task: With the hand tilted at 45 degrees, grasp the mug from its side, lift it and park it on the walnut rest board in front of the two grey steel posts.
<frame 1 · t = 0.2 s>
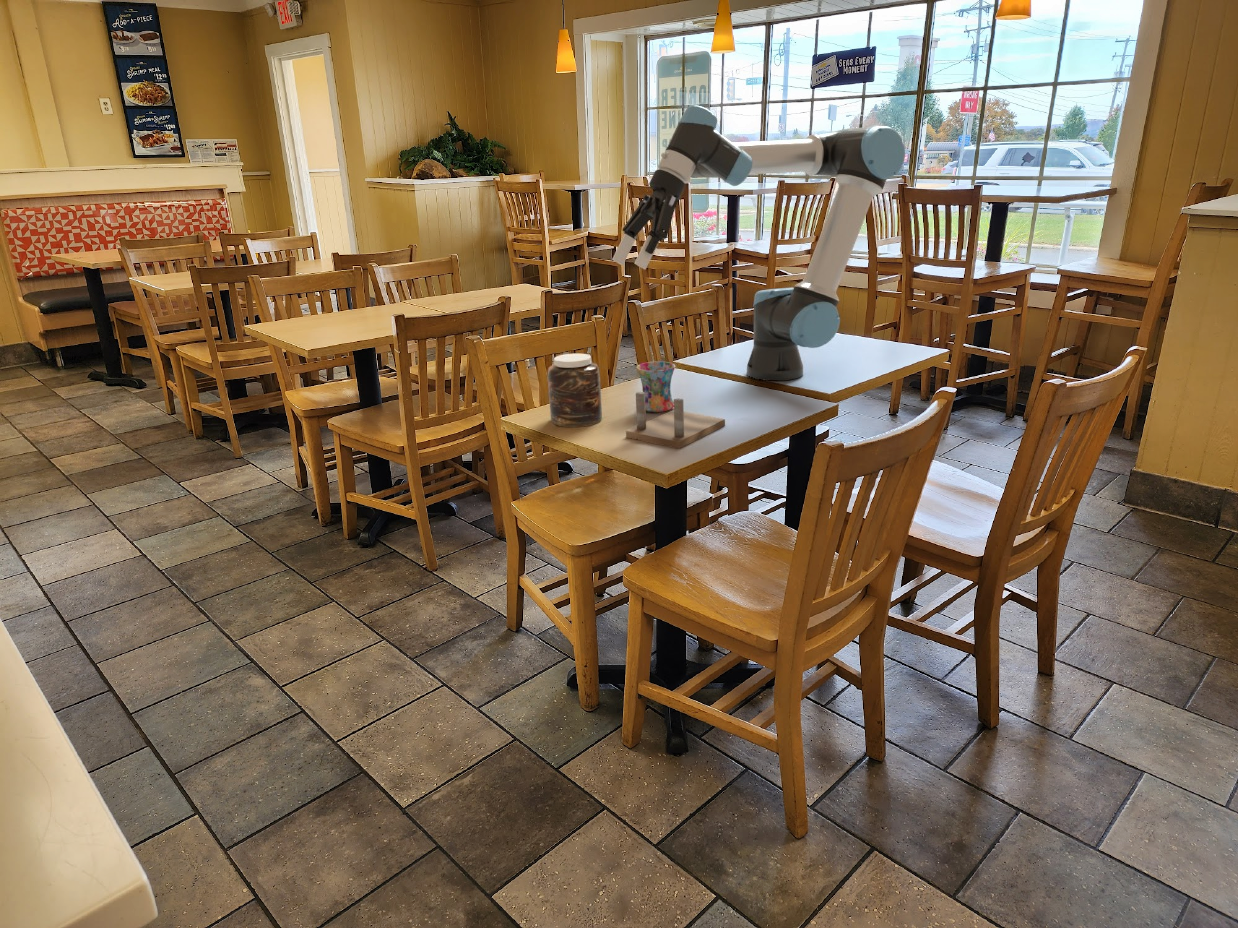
hand: (628, 264, 180), 35 cm above the table, tool tilted 30°, fingers open, 13 cm apart
rest board: (676, 431, 179), on the table
jar: (576, 420, 190), on the table
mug: (659, 408, 197), on the table
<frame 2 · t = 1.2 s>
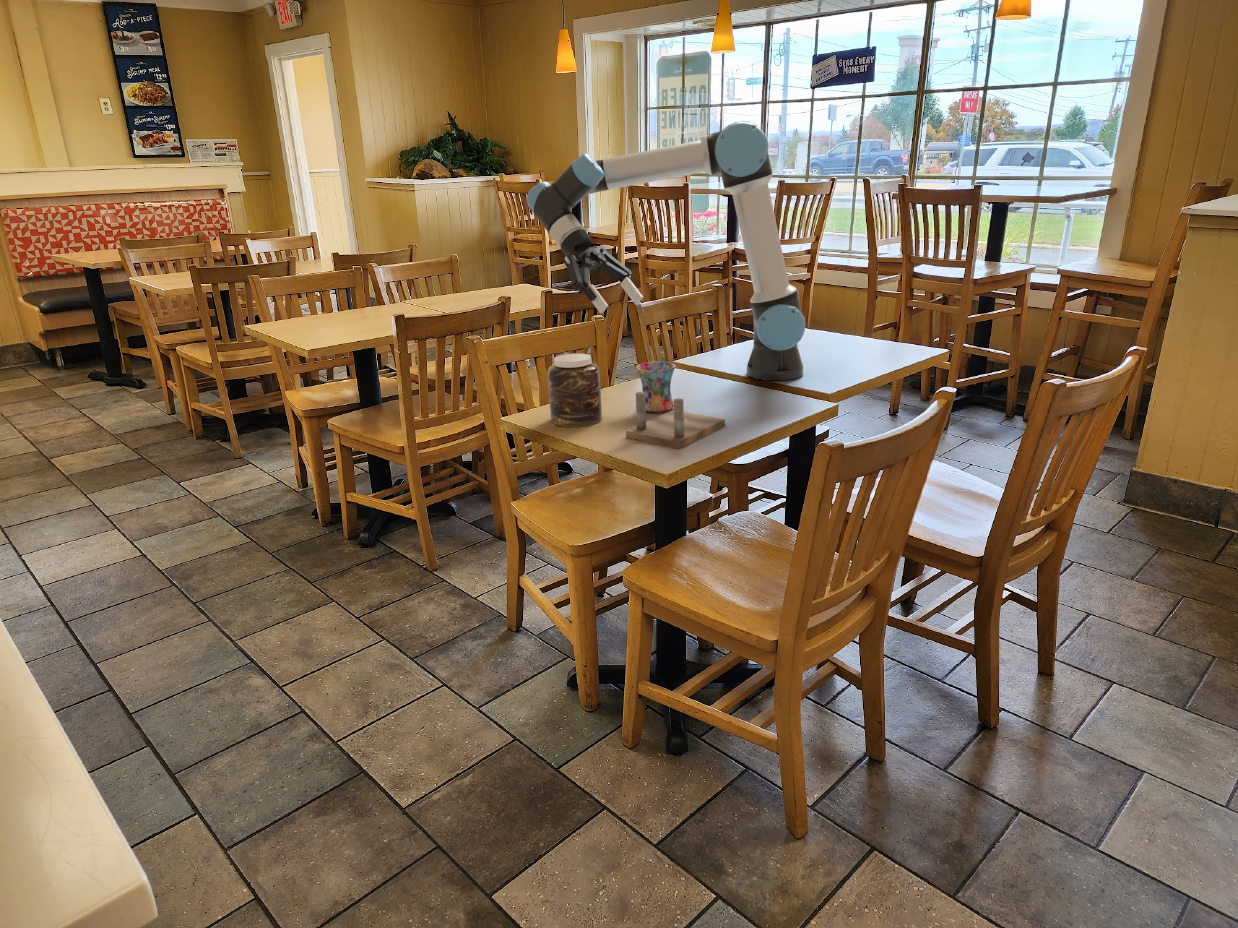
hand: (622, 305, 194), 24 cm above the table, tool tilted 45°, fingers open, 13 cm apart
nothing on the table moved.
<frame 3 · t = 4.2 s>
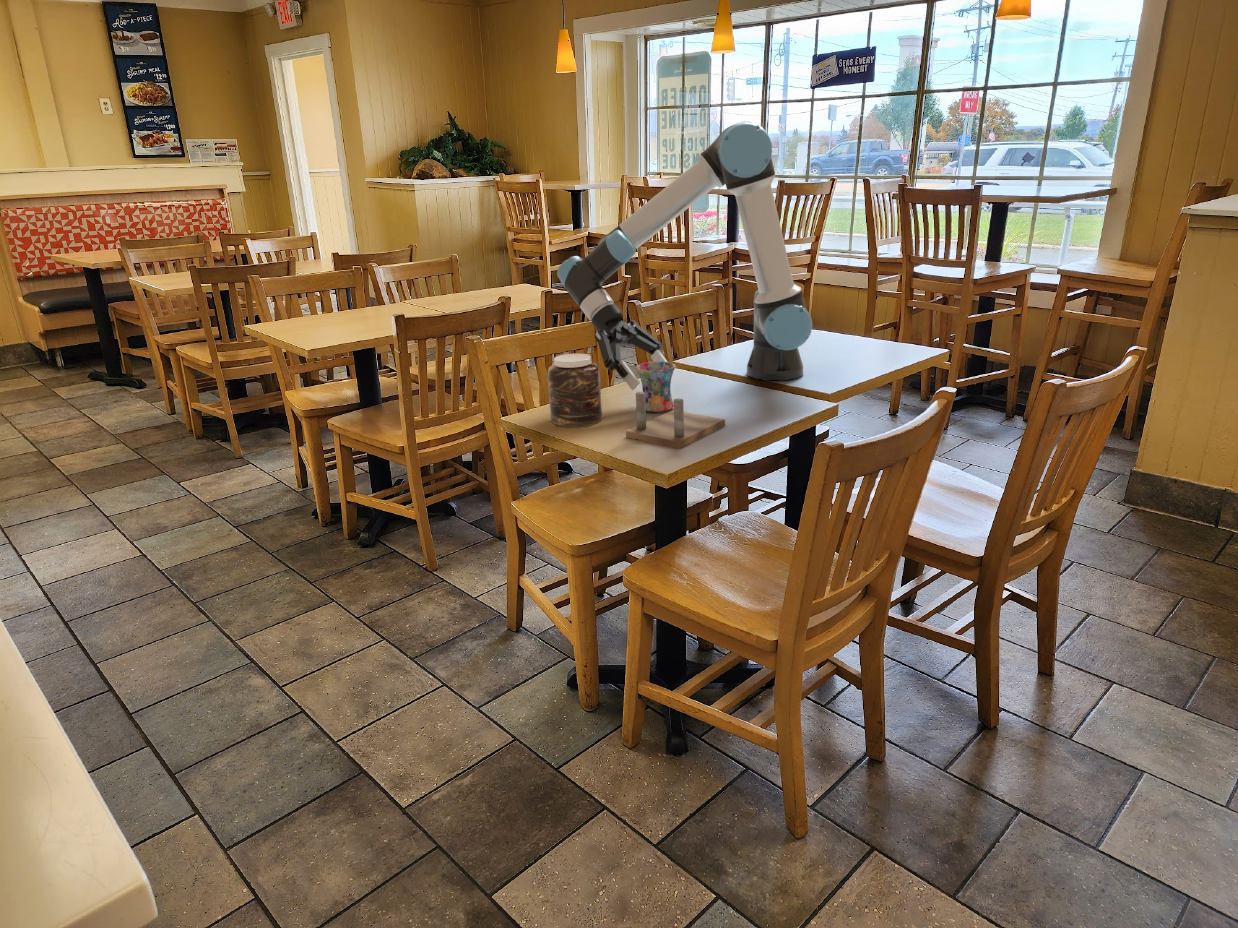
hand: (653, 380, 194), 7 cm above the table, tool tilted 45°, fingers open, 13 cm apart
nothing on the table moved.
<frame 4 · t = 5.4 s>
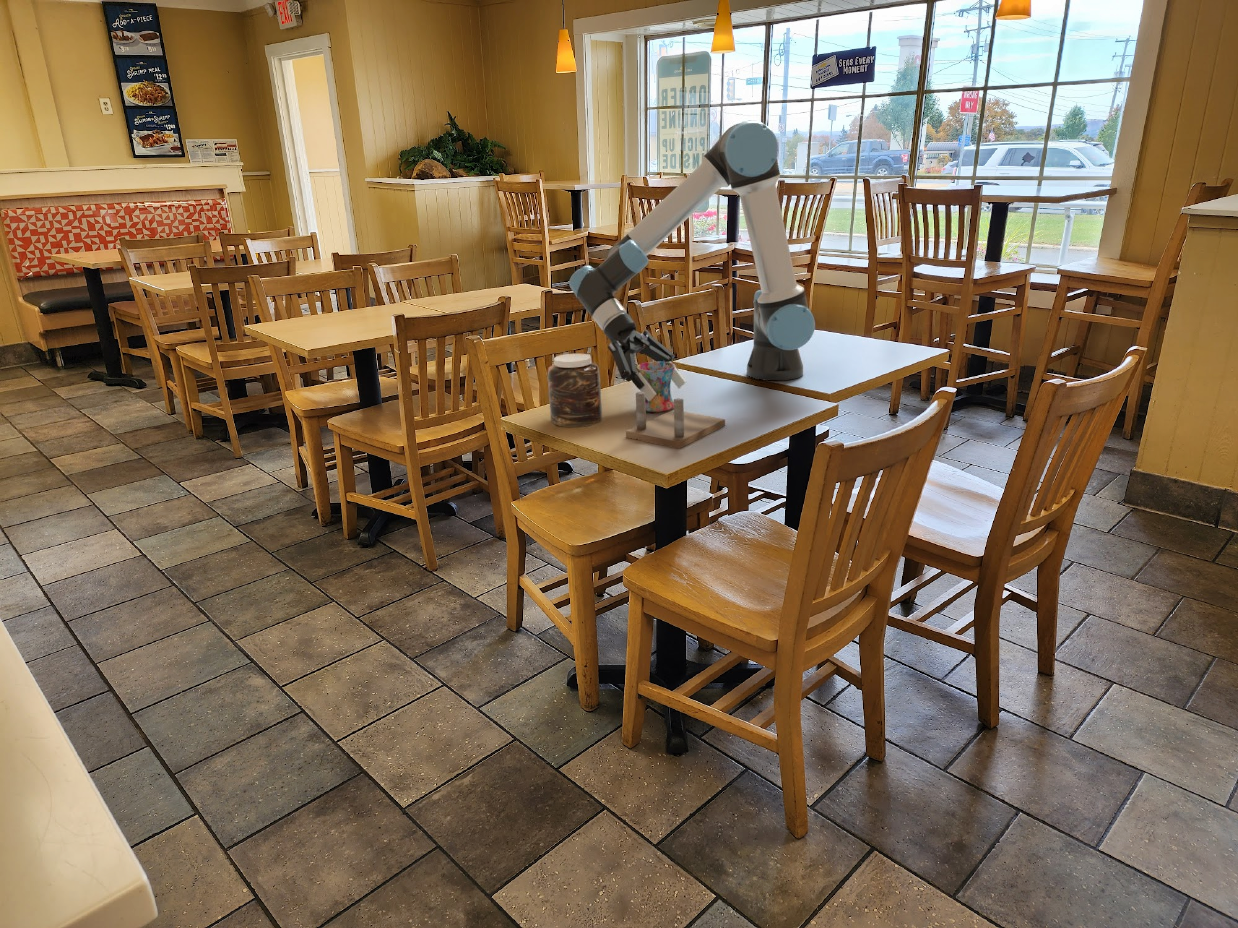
hand: (668, 391, 193), 4 cm above the table, tool tilted 45°, fingers closed on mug, 12 cm apart
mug: (659, 408, 197), on the table, touching gripper
everything else where it was.
when the fingers open (7 cm above the table, at t = 10.9 s): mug drops 1 cm, resting on rest board.
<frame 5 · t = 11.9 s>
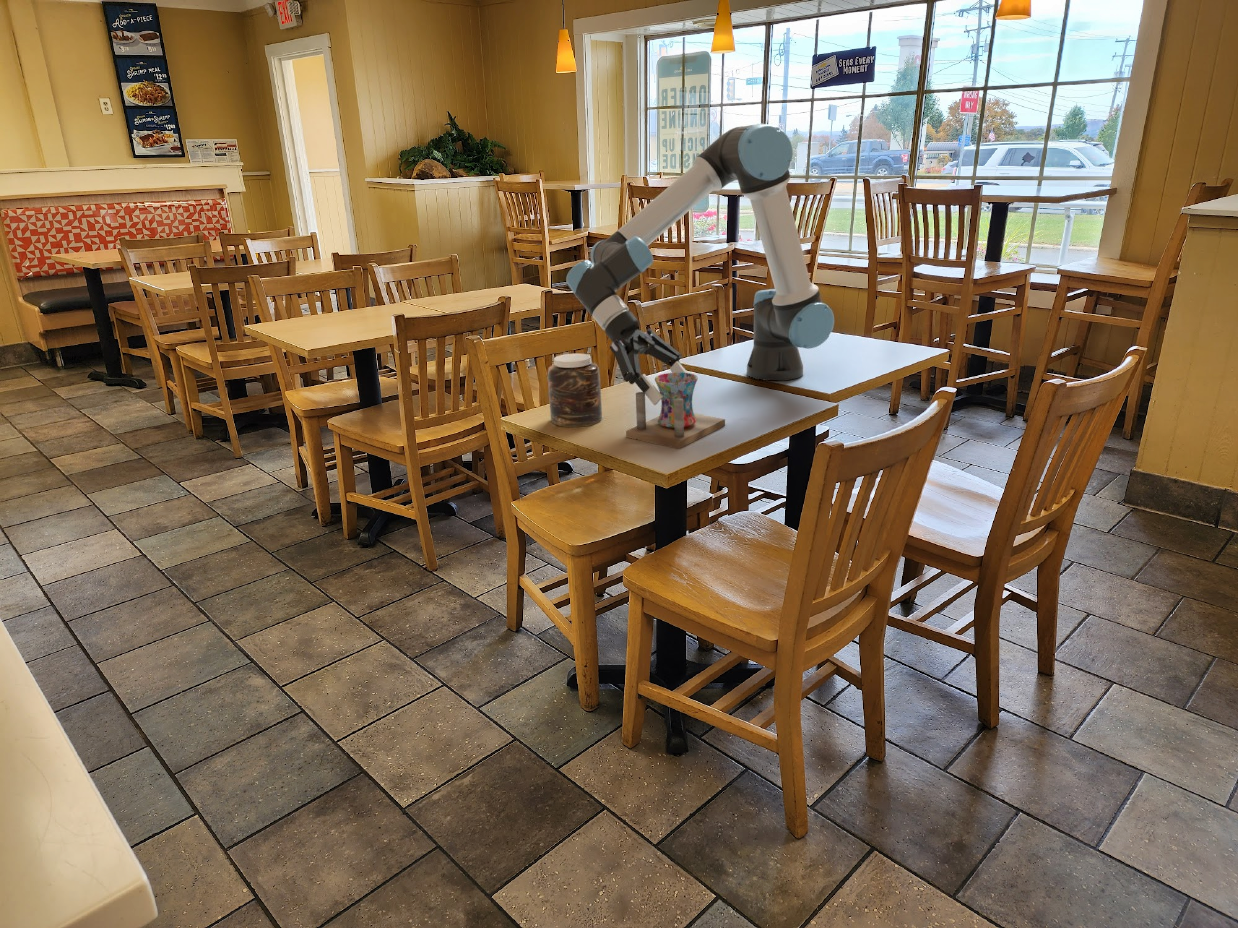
hand: (675, 393, 178), 8 cm above the table, tool tilted 45°, fingers open, 12 cm apart
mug: (679, 423, 180), point 1 cm above the table, touching rest board
everything else where it was.
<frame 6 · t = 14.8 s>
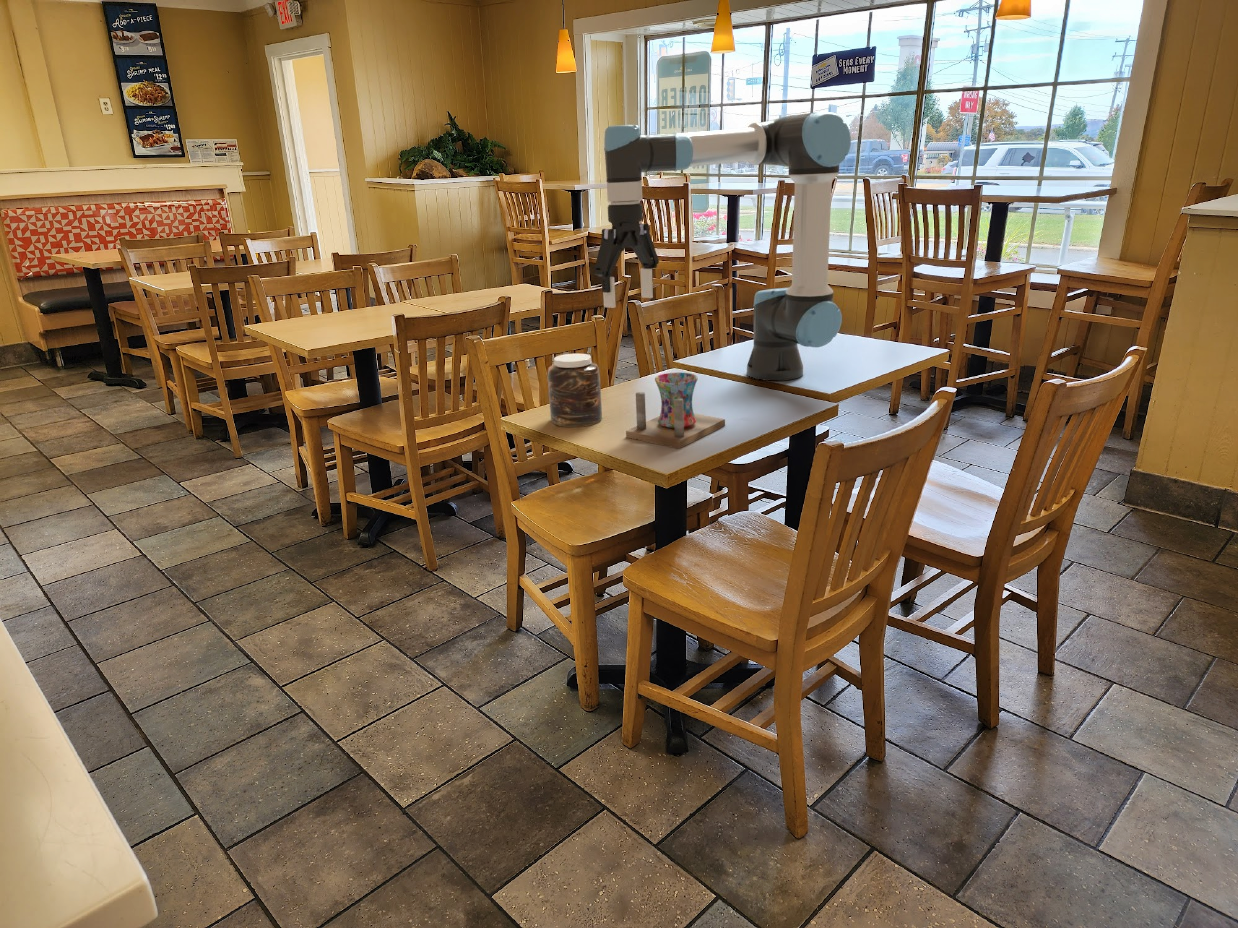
hand: (629, 302, 181), 27 cm above the table, tool pointing down, fingers open, 13 cm apart
nothing on the table moved.
at the end: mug inside the target area on the rest board (0.2 cm from its centre), point 1.3 cm above the rest board's base; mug tilted 0°; the gripper is holding nothing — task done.
